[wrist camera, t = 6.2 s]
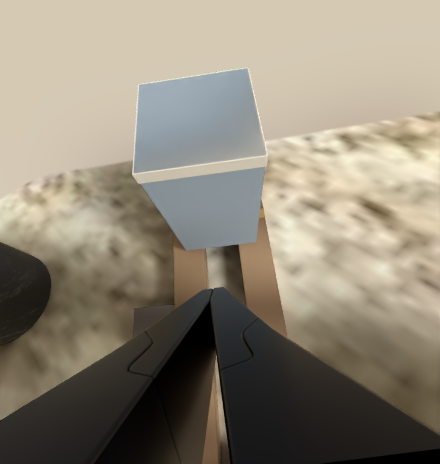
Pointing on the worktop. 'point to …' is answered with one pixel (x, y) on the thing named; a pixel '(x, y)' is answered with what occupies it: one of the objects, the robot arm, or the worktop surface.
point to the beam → (196, 279)
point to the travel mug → (20, 292)
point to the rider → (202, 156)
